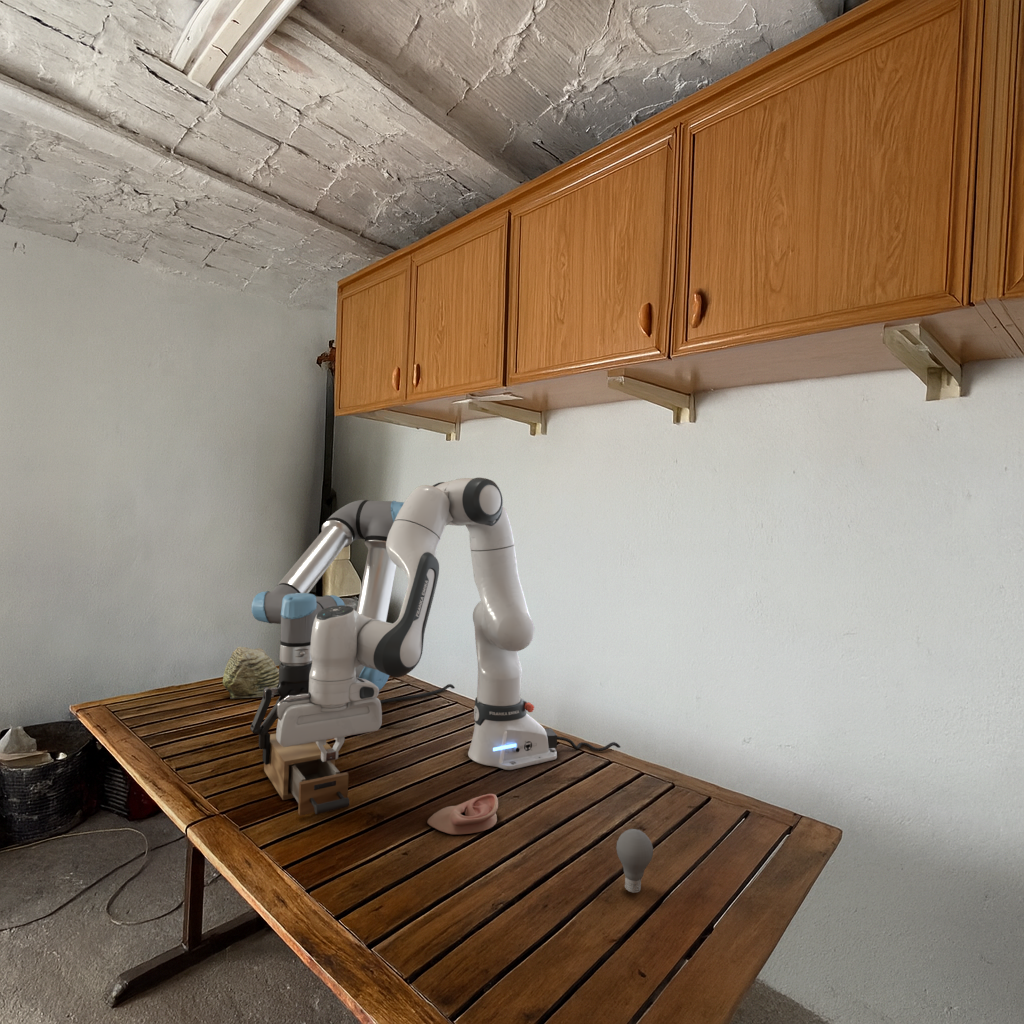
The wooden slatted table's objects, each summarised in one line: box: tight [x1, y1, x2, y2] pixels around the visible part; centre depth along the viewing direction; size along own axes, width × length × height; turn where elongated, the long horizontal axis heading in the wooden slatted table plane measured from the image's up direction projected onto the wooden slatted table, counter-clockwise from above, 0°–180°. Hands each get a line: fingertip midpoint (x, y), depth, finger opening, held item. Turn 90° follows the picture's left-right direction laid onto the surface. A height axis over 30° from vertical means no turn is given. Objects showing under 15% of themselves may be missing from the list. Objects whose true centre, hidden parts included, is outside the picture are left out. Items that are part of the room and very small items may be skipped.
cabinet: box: [263, 732, 336, 801], centre depth 141 cm, size 16×11×8 cm, turn 34°
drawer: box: [288, 759, 350, 817], centre depth 130 cm, size 20×10×6 cm, turn 34°
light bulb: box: [615, 828, 654, 894], centre depth 106 cm, size 6×6×10 cm
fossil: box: [222, 646, 279, 699], centre depth 198 cm, size 9×18×15 cm, turn 132°
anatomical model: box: [427, 793, 499, 836], centre depth 126 cm, size 13×4×12 cm
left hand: (293, 757), depth 145 cm, fingers open, 11 cm apart
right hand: (329, 759), depth 125 cm, fingers closed
